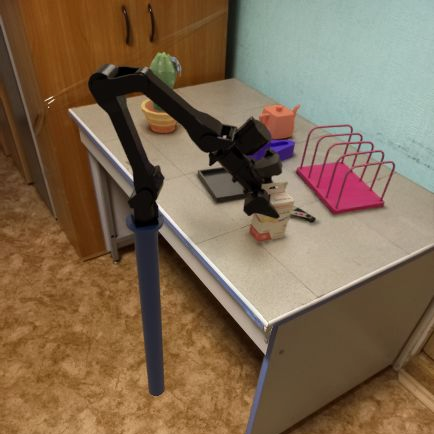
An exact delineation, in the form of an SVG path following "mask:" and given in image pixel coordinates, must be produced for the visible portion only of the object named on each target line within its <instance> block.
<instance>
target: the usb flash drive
mask: <svg viewBox="0 0 434 434" xmlns="http://www.w3.org/2000/svg"><path fill="white" fill-rule="evenodd" d="M289 218H294V219H298V220H302V221H307V222H308V223H310V224H313V223H315V222H316V220H317V219H316V217H314V216H313V215H311V213H308V212H306V211H305V210H303V209H301V208H300V207H298V206H295V205H293V208H292V211H291V214H290V217H289Z"/></svg>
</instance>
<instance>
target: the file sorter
mask: <svg viewBox="0 0 434 434" xmlns="http://www.w3.org/2000/svg"><path fill="white" fill-rule="evenodd" d="M345 127H348V128H349V129H350V132H348V133H347V132H346V133H345V132H344V133H332V134H325V135H323V136H321V137H320V138H319V139H318V140H317V142H316V144H315V149H314V152H313V156H312V160H311V164H310V165H304V161H305V158H306V154H307V150H308V146H309V141H310V139H311V134H312V133H313V132H314V131H315V130H317V129H318V130H319V129H329V128H345ZM344 136H345V137H346V136H348V138H347V141H343V142H334V143H333V144H332V145H330V146H329V147H328V148H327V151H326V153H325V157H324V159H323V163H319V164H315V160H316V156H317V152H318V148H319V145H320V143H321V141H322V140H323V139H325V138H333V137H344ZM352 136H359V137H360V140H359V141H351V139H352ZM362 144H363V145H364V144H369V145H370V146H371V149H370V150H365V151H360V149H361V147H362ZM343 145H346V146H345V148H344V149H345V150H344V152H343V154H342V155H341V156H339V157H338V159H337V160H336V162H327V160H328V157H329V153H330V152H331V149H332V148H334V147H337V146H343ZM349 145H358V146H357V149H356V152H349V153H347V151H348V148H349ZM303 149H304V150H303V154H302V158H301V163H300V166H298V167H296V171H295V172H296V174H298V176H299V177H300V178H301V179H302V180H303V181H304V183H306V185H307V186H308V187H309V188H310V189H311V190H312V192H313V193H314V194H315V195H316V196H317V197H318V199H320V201H321V202H322V203H323V204H324V205H325V206H326V207H327V209H328V210H329V211H330V212H331V213H332V215H339V214H346V213H351V212H352V213H353V212H358V211H365V210H369V209H371V210H372V209H376V208H382V207H384V206H385V204H386V203H385V201H384V200H383V199H384V197H385V195H386V192H387V189H388V187H389V185H390V182H391V180H392V178H393V174H394V172H395V169H396V163H395V162H394V161H392V160H384V159H385V152H384V151H383V150H382V149H375V144H374V143H373V142H372V141H370V140H364V137H363V135H362V134H361V133H360V132H354V129H353V126H352V125H351V124H346V123H345V124H332V125H331V124H329V125H328V124H327V125H317V126H314V127H312V128H311V129H310V130H309V131H308V134H307V137H306V141H305V145H304V148H303ZM374 153H381V158H380V161H377V162H370V160H371V158H372V156H373V154H374ZM366 154H367V155H368V157H367V159H366V162H365V163H361V164H356V162H357V158H358V155H366ZM352 156H354V159H353V161H352V164H351V167H350V166H348V165H347V164H346V163H345V161H344V160H345V158H346V157H352ZM355 164H356V165H355ZM385 164H392V168H391V171H390V174H389V176H388V179H387V181H386V184H385V187H384V189H383V191H382V194H381V196H380V195H379V194H378V193H377V192H375V191H374V190H373V188H374V186H375V183H376V180H377V178H378V175H379V172H380V170H381V167H382V165H385ZM376 165H378V167H377V169H376V172H375V174H374V177H373V179H372V182H371V184H370V186H369V185H368V184H367V183H366V182H365V181H364V180H363V178H364V176H365V173H366V170H367V168H368V167H371V166H376ZM362 167H364V168H363V169H362V173H361V175H360V176H359V175H358V174H357V173H356V172H354V171H353V170H354V169H356V168H362Z"/></svg>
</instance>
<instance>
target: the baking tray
mask: <svg viewBox="0 0 434 434" xmlns="http://www.w3.org/2000/svg"><path fill="white" fill-rule="evenodd" d="M197 176H198V178H199V179H200V181H201V182H202V184H203V185H204V187H205V188H206V190H207V192H208V193H209V194H210V196H211V197H212V199H213V200H214V202H215V203H216V204H220V203H224V202H225V203H226V202H231V201H236V200H237V201H238V200H244V199H245V198H246V197H248V196H249V195H251V194H252V192H251V193H250V192H249V193H247V194H246V195H245V194H244V193H243V187H242V186H241V185H240V184H239V183H238V182H235V183H233V182H232V181H231V180H232V176H231V175H230V174H229V173H228V172H227V171H226V170H225V169H224V168H223V167H222V166H219V167H212V168H205V169H199V170H197Z"/></svg>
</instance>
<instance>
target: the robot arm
mask: <svg viewBox="0 0 434 434" xmlns="http://www.w3.org/2000/svg"><path fill="white" fill-rule="evenodd" d="M87 88H88V91H89V93H90V95H91V96H92V97H93V99H94V100H95V102H96V104H97V105H98V106H99V108H101V109H102V110H103V111H104V112H105V113H106V114H107V115H108V117H109V119H110V122H111V124H112V127H113V129H114V131H115V133H116V136H117V137H118V140H119V142H120V145H121V147H122V150H123V151H124V154H125V156H126V159H127V161H128V163H129V166H130V169H131V171H132V183H133V191H132V192H131V194H130V196H129V198H128V200H127V204H128V206H129V208H130V209H131V212H132V213H131V218H132V220H133V222H134V225H135V227H136V228H140V227H146V226H151V225H157V224H159V221H158V218H159V213H160V211H159V209H160V208H159V204H158V202H157V200H158V198H159V196H160V194H161V191H162V189H163V187H164V181H165V179H166V177H165V175H164V174H163V172H162V169H161V166H160V165H159V164H157V165H154V164H152V163H151V161H150V160H149V156H148V155H147V152H146V150H145V147H144V144H143V142H142V140H141V138H140V134H139V133H138V130H137V128H136V127H137V126H136V125H135V122H134V120H133V117H132V115H131V112H130V110H129V107H128V100H127V95H129V94H134V93H141V94H143V95H144V96H145V97H146V98H147V99H150V100H151V101H152V102H154V103H155V104H156V105H157V106H158V107H160V108H161V109H162V110H163V111H165V112H166V113H167V114H168V115H169V116H171V117H172V118H173V119H174V120H175V121H177V123H178V124H179V125H180V126H181V127H182V128H183V129H184V130H185V131H186V133H187V136H188V137H189V138H190V140H191V141H192V142H193V144H194V145H195V146H196V147H197V148H198V149H199V150H200V151H201V152H202V153H206V154H208V166H209V167H212V166H214V165H215V164H216V163H218V164H219V165H220V167H223V168H224V169H225V170H226V171H227V172H228V173H229V174H230V175H231V176H232V180H231V181H232V182H233V183H235V182H238V183H239V184H240V185H241V186H242V187H243V193H244V194H245V195H246V194H247V193H249V192H250V193H251V192H252V194H251V195H249V196H248V197H246V198H244V201H243V209H242V210H243V212H244V213H245V215H247V217H251V216H253V214H254V213H257V214H262V215H265V216H268V217H272V218H275V219H278V218H279V217H280V215H279V214H278V212H277V211H276V209H275V208H274V207H273V205H272V204H271V202H270V194H269V195H268V193H267V191H266V190H265V189H262V187H263V184H270V183H274V181H273V179H272V178H273V177H275V176H276V177H277V176H280V175H281V174H283V163H282V161H281V160H280V155H279V154H278V153H277V152H275V151H274V150H272V149H271V148H269V149H266V150H265V155H264V158H263V157H261V159H260V160H258V161H256V160H255V159H254V158H252V157H250V158H248V157H247V156H249V155H250V156H252V155H254V154H255V153H256V152H257V151H259V150H260V149H261V148H262V147H264V146H265V145H266V144H268V143H269V142H270V141H271V140H273V139H272V137H271V134H270V132H269V130H268V129H267V127H266V126H265V125H264V124H263V123H261V122H260V121H259V119H255V117H254V116H253V115H252V116H249V117H248V118H247V119H246V121H244V123H243V124H242V125H241V126H239V127H238V126H235V125H232V124H227V123H223V122H221V121H220V120H218V119H217V118H215V117H214V116H212V115H211V114H209V113H207V112H205V111H201V110H198V109H197V108H195V107H194V106H193V105H191V104H190V103H189V102H188V101H186V99H184V98H183V97H182V96H181V95H180V94H178V93H177V92H176V91H175V90H174V89H173V90H172V89H171V88H170V87H169V86H168V85H166V84H165V83H164V82H163V81H162V80H161V79H159V78H158V77H157V76H156V75H155V74H154V73H153V72H152V70H151V69H150V67H148V66H131V65H119V66H117V65H114V64H112V63H104V64H101V65H100V66H99V67H98V68H97V69H96V70H95V71H94V72H93V73H92V74H91V75H90V76H89V78H88V81H87ZM276 188H277V187H276V186H273V187H270V188H269V189H276Z"/></svg>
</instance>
